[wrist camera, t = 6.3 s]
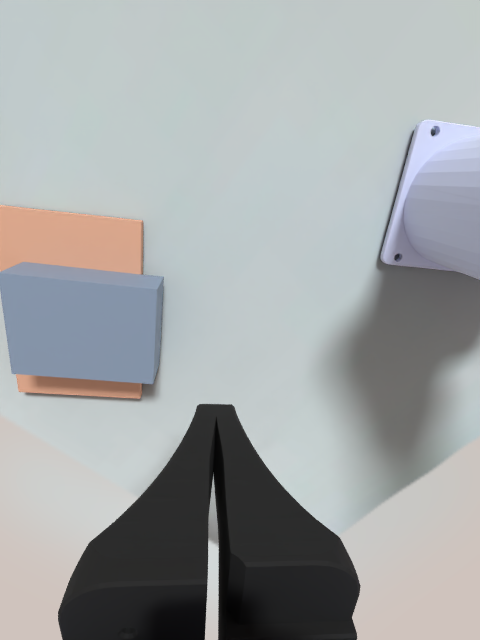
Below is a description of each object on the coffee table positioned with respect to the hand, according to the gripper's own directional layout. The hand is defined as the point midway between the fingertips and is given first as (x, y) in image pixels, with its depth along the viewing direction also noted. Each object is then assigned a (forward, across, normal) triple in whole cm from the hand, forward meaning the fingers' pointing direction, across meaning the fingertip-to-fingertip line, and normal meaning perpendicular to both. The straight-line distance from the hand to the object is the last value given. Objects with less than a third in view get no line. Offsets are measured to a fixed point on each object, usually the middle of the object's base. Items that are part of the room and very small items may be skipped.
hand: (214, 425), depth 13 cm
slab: (+8, +3, 0) cm, 9 cm away
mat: (+10, +9, 0) cm, 13 cm away
